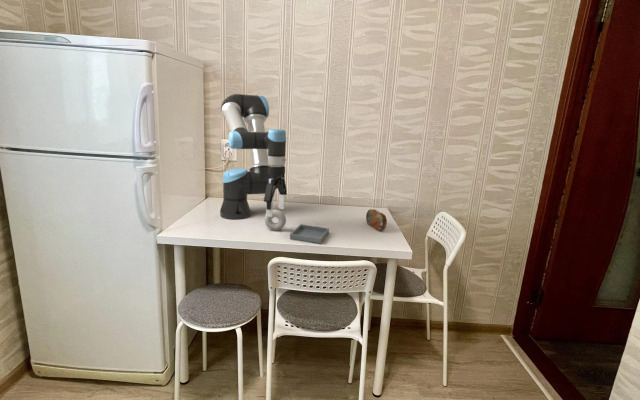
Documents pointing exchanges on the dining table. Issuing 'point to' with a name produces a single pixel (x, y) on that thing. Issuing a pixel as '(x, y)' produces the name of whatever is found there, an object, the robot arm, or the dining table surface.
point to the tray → (309, 234)
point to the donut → (275, 225)
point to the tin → (376, 219)
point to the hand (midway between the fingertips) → (275, 212)
